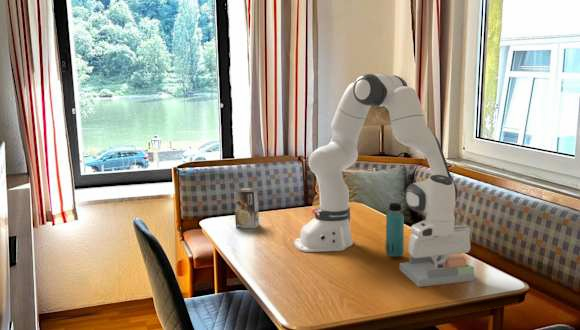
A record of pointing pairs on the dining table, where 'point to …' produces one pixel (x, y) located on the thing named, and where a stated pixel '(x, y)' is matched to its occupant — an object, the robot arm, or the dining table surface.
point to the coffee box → (246, 207)
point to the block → (455, 261)
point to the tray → (434, 272)
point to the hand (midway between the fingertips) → (439, 267)
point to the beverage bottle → (395, 231)
